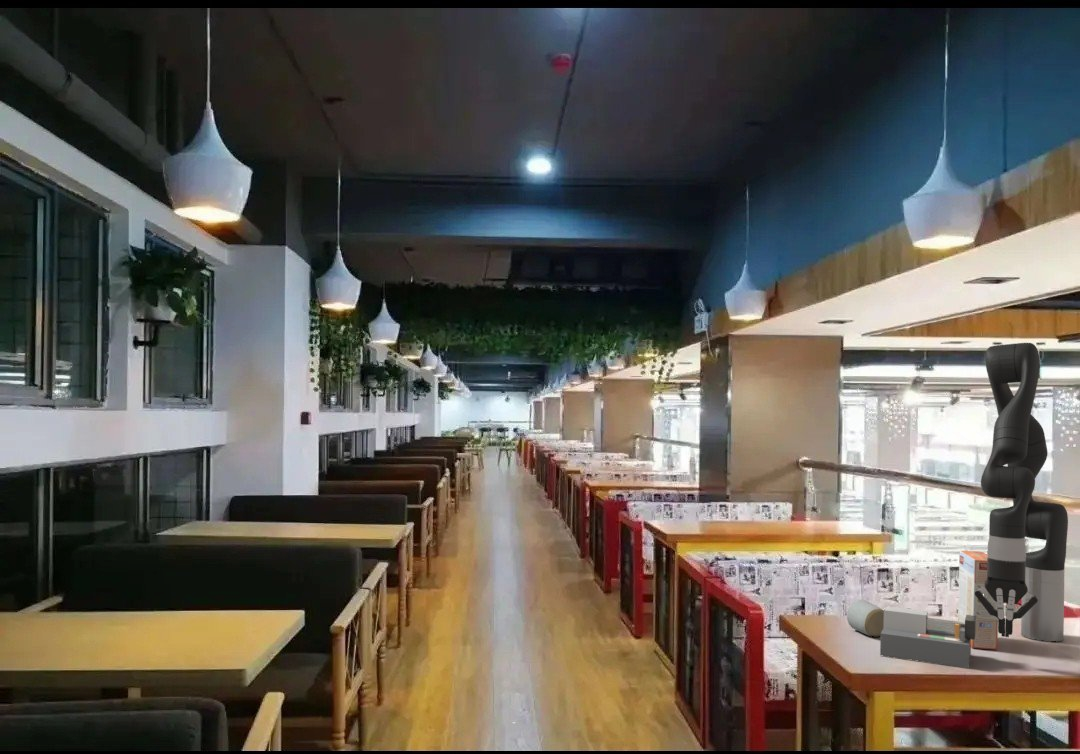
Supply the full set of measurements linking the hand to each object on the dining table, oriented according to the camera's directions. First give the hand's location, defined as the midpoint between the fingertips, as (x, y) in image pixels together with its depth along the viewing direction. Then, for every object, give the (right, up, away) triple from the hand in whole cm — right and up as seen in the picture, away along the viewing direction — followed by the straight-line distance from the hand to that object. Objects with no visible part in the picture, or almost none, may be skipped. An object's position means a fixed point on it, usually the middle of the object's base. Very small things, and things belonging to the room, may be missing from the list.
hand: (1005, 636), depth 202 cm
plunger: (-11, -1, +4) cm, 12 cm away
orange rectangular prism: (-10, -1, 0) cm, 10 cm away
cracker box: (+3, -7, +19) cm, 20 cm away
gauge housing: (-15, -6, +6) cm, 17 cm away
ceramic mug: (-20, -7, +25) cm, 33 cm away
